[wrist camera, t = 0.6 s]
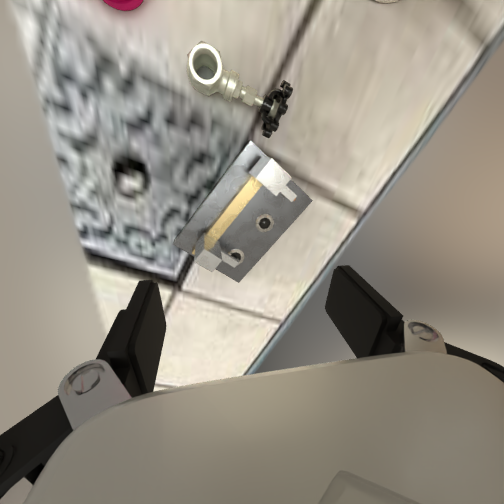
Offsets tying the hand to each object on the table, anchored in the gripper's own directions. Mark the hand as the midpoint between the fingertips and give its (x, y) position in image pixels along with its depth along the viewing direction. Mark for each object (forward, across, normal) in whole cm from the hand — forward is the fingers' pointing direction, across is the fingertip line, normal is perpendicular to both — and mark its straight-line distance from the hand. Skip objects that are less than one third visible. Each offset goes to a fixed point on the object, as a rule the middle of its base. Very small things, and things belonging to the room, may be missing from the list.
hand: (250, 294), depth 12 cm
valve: (+28, -2, -12) cm, 30 cm away
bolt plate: (+27, -3, +5) cm, 28 cm away
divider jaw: (+25, -8, -1) cm, 26 cm away
